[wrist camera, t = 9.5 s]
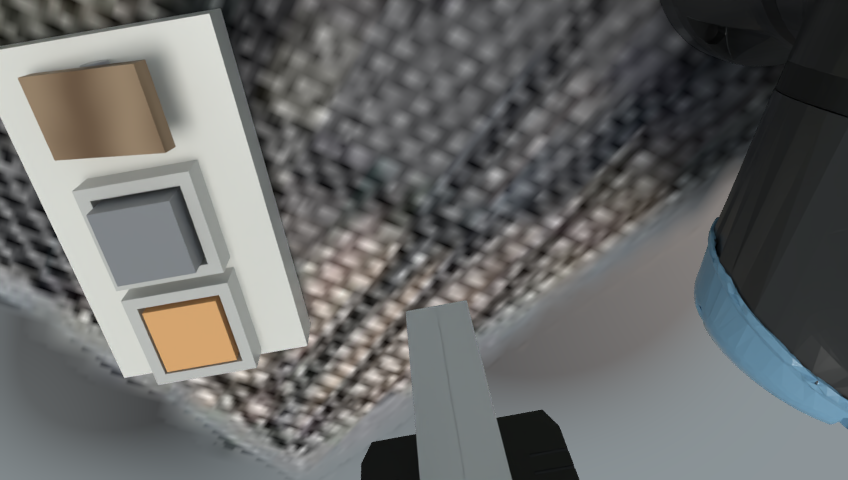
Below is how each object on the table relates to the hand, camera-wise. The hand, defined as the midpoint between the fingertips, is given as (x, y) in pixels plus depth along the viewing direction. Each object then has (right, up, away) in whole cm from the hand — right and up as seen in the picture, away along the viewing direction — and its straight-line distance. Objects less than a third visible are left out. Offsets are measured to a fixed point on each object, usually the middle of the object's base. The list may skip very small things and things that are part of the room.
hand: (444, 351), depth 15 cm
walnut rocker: (-19, +10, +20) cm, 30 cm away
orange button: (-17, -3, +29) cm, 34 cm away
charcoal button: (-18, +3, +24) cm, 31 cm away
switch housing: (-18, +5, +28) cm, 34 cm away
